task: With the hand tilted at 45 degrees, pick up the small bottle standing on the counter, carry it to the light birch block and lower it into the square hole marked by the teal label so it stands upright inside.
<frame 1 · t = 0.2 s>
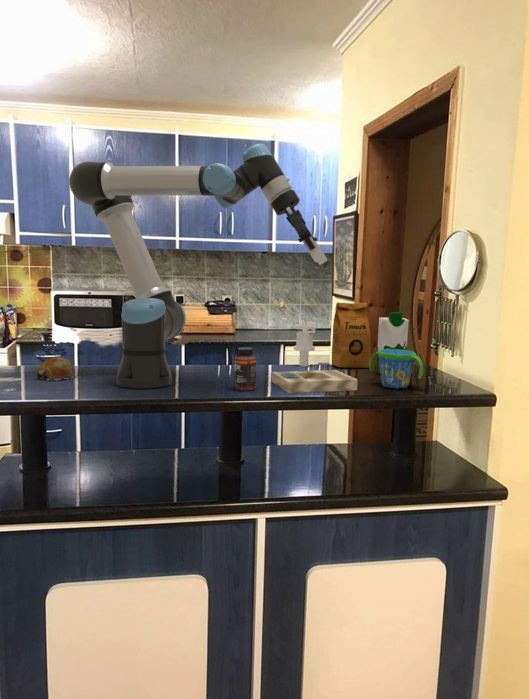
hand: (321, 261, 159), 35 cm above the counter, tool tilted 35°, fingers open, 13 cm apart
bread roll: (56, 378, 166), on the counter
supplement bottle: (244, 389, 156), on the counter
milk carton: (390, 375, 182), on the counter
snack cup: (394, 387, 164), on the counter
pale grey stepped figure: (303, 366, 195), on the counter
coffee package: (350, 367, 195), on the counter
birch socket block: (313, 386, 162), on the counter
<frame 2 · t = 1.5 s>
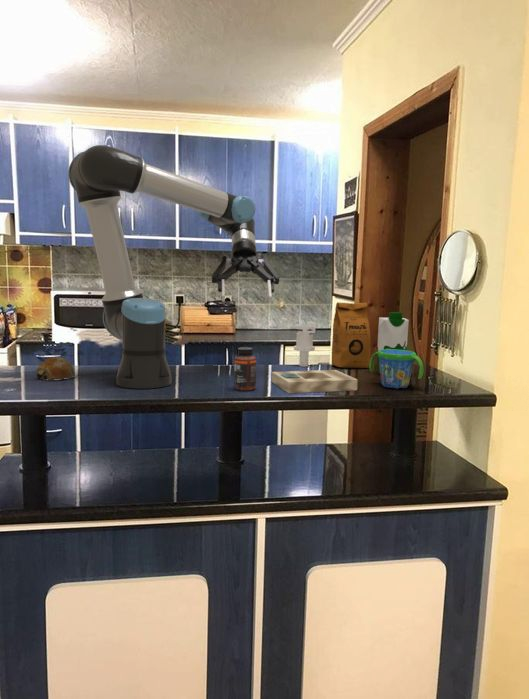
hand: (246, 299, 167), 24 cm above the counter, tool tilted 45°, fingers open, 13 cm apart
nothing on the counter moved.
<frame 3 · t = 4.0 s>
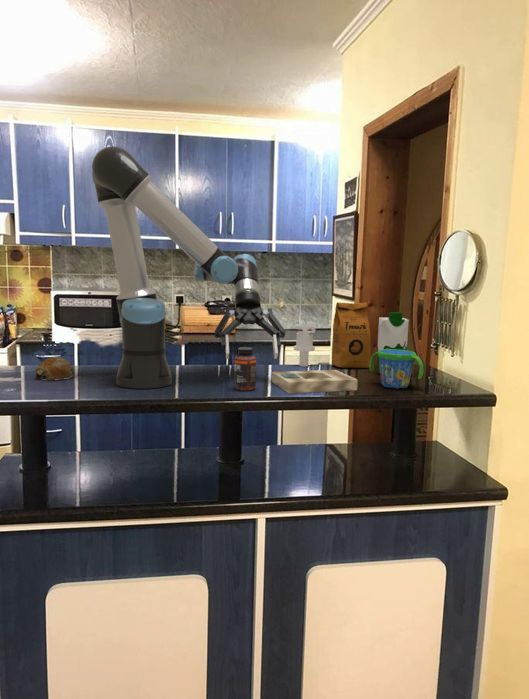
hand: (252, 356, 159), 8 cm above the counter, tool tilted 45°, fingers open, 13 cm apart
nothing on the counter moved.
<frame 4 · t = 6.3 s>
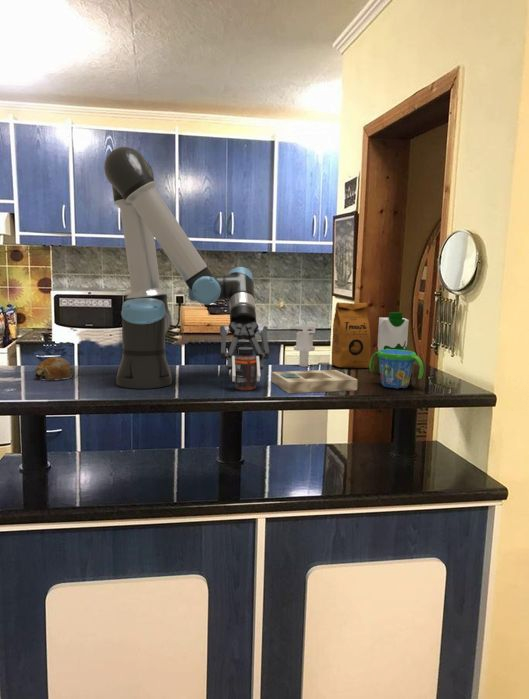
hand: (246, 378, 152), 4 cm above the counter, tool tilted 45°, fingers closed on supplement bottle, 6 cm apart
supplement bottle: (244, 389, 156), on the counter, touching gripper
everything else where it was.
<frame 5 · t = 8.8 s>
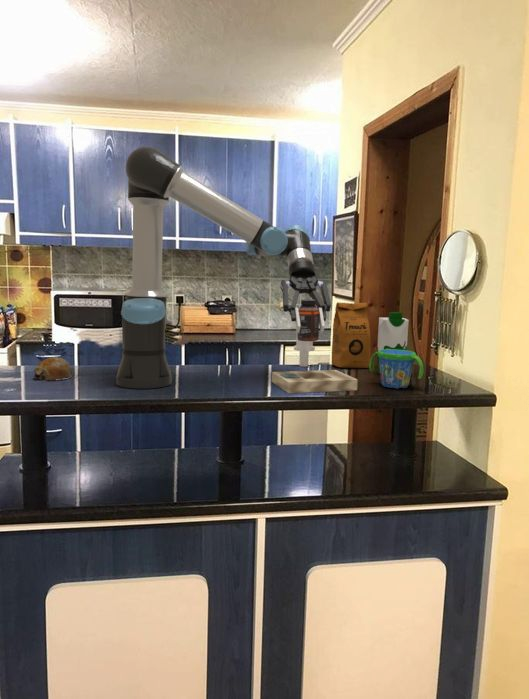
hand: (310, 329, 155), 17 cm above the counter, tool tilted 45°, fingers closed on supplement bottle, 6 cm apart
supplement bottle: (307, 341, 159), point 13 cm above the counter, touching gripper
everything else where it was.
when the fingers open (5 cm above the counter, at t = 11.7 s): supplement bottle drops 2 cm, resting in birch socket block.
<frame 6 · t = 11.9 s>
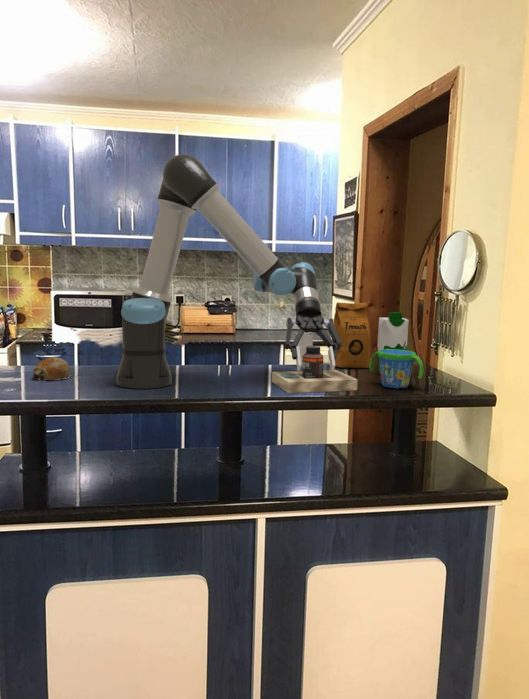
hand: (316, 368, 158), 6 cm above the counter, tool tilted 45°, fingers open, 9 cm apart
supplement bottle: (312, 386, 162), resting in birch socket block
everything else where it was.
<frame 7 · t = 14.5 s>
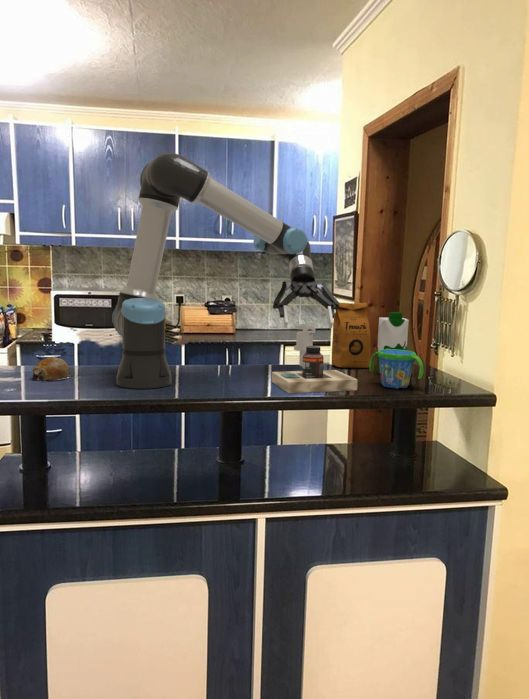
hand: (308, 325, 170), 16 cm above the counter, tool tilted 45°, fingers open, 13 cm apart
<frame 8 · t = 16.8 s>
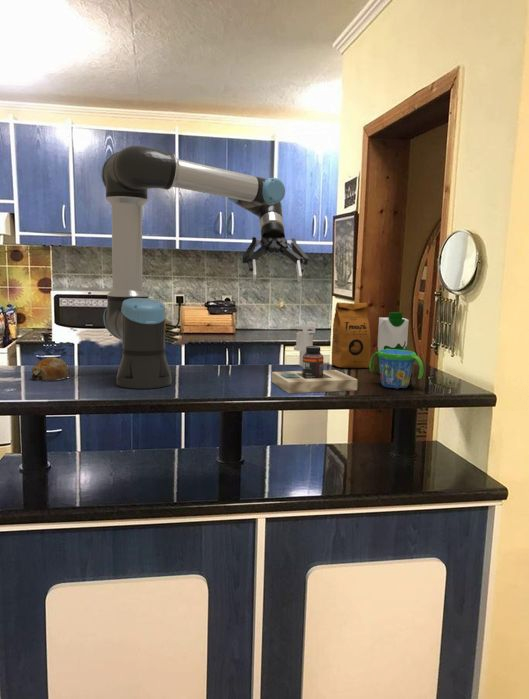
hand: (277, 278, 171), 30 cm above the counter, tool tilted 45°, fingers open, 13 cm apart
at the end: supplement bottle 0.3 cm off-centre on the birch socket block, point 0.0 cm above the birch socket block's base; supplement bottle tilted 0°; the gripper is holding nothing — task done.
